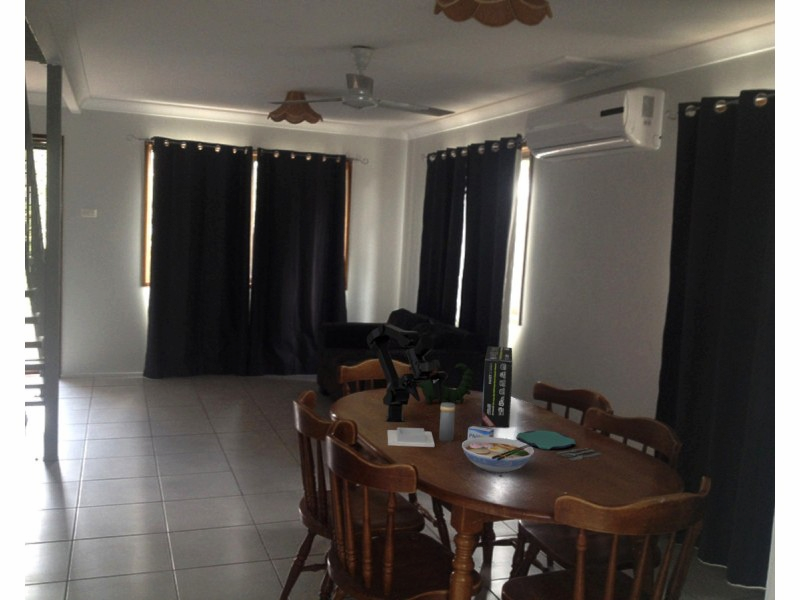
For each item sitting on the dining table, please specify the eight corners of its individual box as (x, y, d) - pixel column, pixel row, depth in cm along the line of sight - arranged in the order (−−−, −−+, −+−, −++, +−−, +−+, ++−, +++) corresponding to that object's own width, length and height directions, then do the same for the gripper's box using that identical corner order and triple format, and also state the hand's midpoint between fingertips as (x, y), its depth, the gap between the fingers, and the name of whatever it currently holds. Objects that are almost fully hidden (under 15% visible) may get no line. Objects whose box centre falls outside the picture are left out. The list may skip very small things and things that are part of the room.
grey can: (438, 437, 262) (440, 402, 261) (452, 437, 262) (454, 402, 261) (439, 441, 257) (441, 405, 256) (454, 441, 257) (456, 406, 256)
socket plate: (387, 432, 265) (388, 423, 265) (431, 434, 266) (431, 425, 265) (388, 445, 249) (388, 435, 249) (434, 447, 250) (434, 437, 249)
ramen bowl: (487, 453, 245) (488, 430, 244) (547, 469, 231) (549, 444, 230) (443, 469, 226) (445, 444, 225) (507, 488, 211) (508, 461, 211)
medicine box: (466, 452, 245) (467, 427, 244) (471, 449, 249) (472, 425, 248) (488, 457, 241) (489, 431, 241) (492, 453, 245) (494, 428, 245)
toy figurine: (463, 404, 324) (410, 400, 317) (469, 362, 323) (416, 357, 316) (471, 409, 315) (416, 405, 308) (477, 366, 314) (423, 361, 307)
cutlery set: (547, 433, 276) (548, 427, 276) (606, 457, 250) (607, 450, 250) (506, 439, 266) (507, 432, 266) (563, 464, 240) (564, 457, 240)
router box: (483, 405, 316) (487, 345, 313) (508, 408, 314) (512, 347, 312) (480, 426, 280) (484, 358, 278) (509, 429, 279) (513, 360, 277)
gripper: (406, 353, 259) (418, 392, 252) (448, 350, 269) (461, 388, 262) (392, 366, 267) (404, 405, 260) (433, 364, 277) (446, 401, 270)
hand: (429, 400), depth 263 cm, fingers open, 9 cm apart
